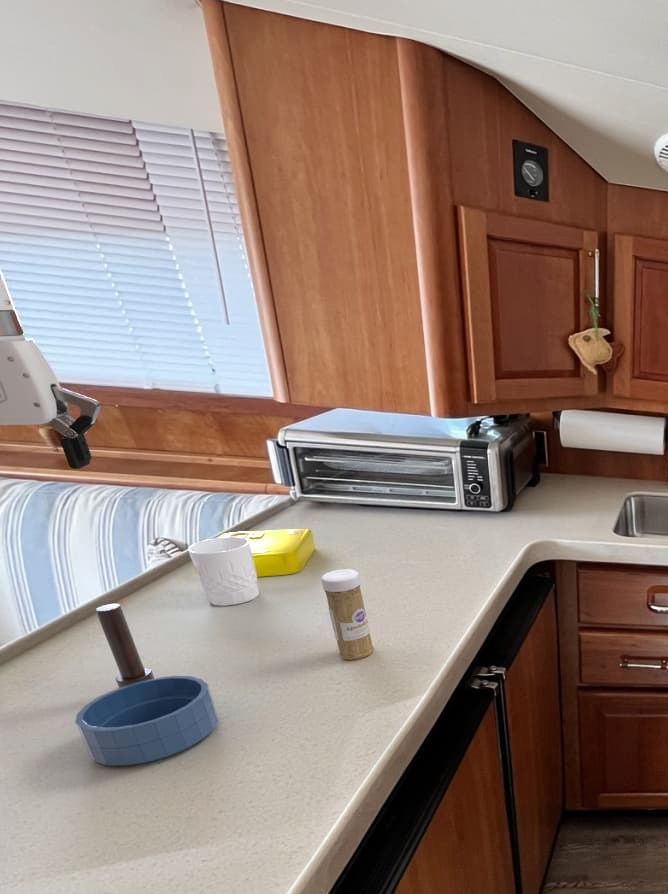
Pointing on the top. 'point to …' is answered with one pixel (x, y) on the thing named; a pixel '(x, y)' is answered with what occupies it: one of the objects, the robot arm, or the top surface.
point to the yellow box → (278, 550)
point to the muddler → (122, 646)
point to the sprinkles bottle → (347, 613)
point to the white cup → (225, 570)
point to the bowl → (147, 720)
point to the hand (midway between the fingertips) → (29, 467)
